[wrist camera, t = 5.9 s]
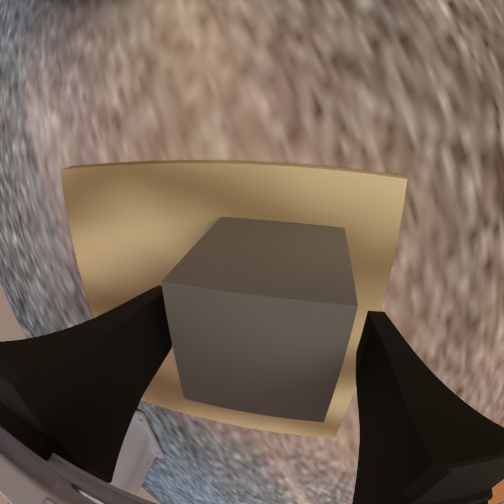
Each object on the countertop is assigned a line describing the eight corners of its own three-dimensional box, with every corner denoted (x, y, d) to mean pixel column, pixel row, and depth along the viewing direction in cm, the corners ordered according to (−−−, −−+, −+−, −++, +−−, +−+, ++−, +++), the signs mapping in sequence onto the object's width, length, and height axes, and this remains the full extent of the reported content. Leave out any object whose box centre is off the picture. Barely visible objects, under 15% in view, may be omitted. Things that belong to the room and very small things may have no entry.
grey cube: (327, 327, 14) (323, 422, 9) (224, 314, 15) (184, 398, 10) (344, 227, 12) (358, 306, 7) (221, 216, 13) (161, 281, 8)
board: (335, 429, 19) (334, 437, 18) (127, 387, 22) (122, 394, 21) (402, 175, 11) (407, 179, 11) (70, 166, 14) (60, 169, 14)
